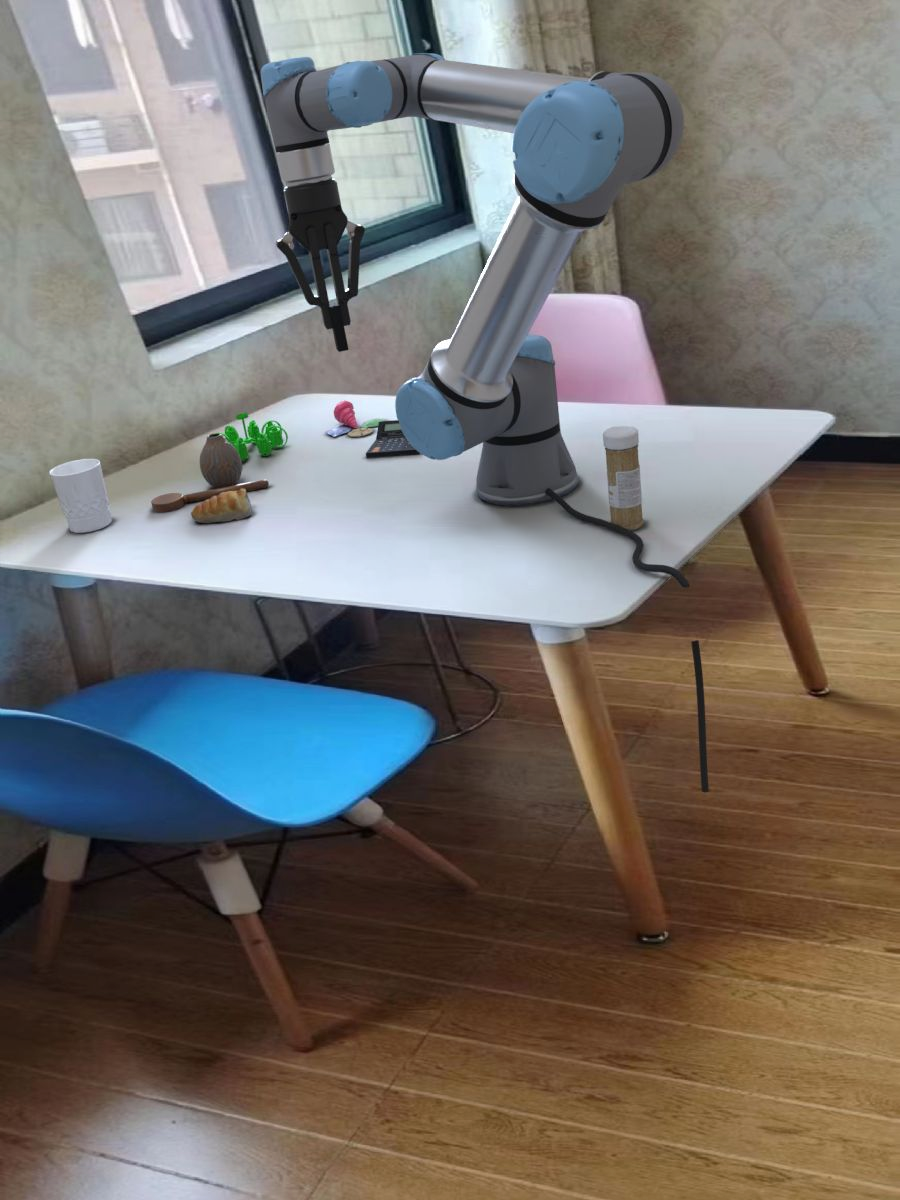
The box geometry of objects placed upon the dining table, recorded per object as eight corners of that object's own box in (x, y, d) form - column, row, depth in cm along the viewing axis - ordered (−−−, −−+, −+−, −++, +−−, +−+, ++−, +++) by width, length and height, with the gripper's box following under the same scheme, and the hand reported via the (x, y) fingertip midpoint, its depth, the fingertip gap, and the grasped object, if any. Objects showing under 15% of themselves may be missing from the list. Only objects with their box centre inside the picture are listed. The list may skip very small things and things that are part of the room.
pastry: (193, 529, 177) (187, 506, 176) (192, 515, 184) (187, 493, 182) (254, 517, 179) (248, 494, 177) (251, 504, 185) (246, 481, 183)
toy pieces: (312, 433, 217) (307, 411, 215) (355, 416, 224) (352, 394, 222) (353, 441, 209) (349, 417, 207) (398, 422, 216) (394, 400, 214)
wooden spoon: (268, 482, 194) (266, 474, 193) (270, 491, 189) (268, 483, 189) (153, 504, 191) (151, 496, 191) (152, 514, 187) (150, 506, 186)
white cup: (125, 516, 188) (109, 458, 184) (96, 535, 181) (79, 475, 177) (86, 516, 191) (69, 458, 186) (56, 534, 184) (38, 475, 180)
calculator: (366, 458, 199) (363, 441, 197) (382, 436, 209) (379, 420, 208) (419, 454, 197) (416, 437, 195) (432, 432, 207) (429, 416, 205)
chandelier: (194, 457, 213) (185, 421, 210) (261, 434, 221) (254, 399, 218) (236, 470, 202) (228, 432, 199) (306, 445, 211) (298, 408, 208)
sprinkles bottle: (608, 521, 157) (600, 427, 152) (642, 517, 157) (635, 422, 151) (612, 534, 153) (604, 437, 148) (646, 530, 153) (639, 433, 147)
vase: (226, 493, 192) (214, 442, 188) (196, 489, 195) (184, 440, 192) (253, 478, 197) (243, 429, 193) (224, 475, 200) (213, 427, 197)
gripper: (351, 172, 164) (381, 336, 174) (261, 188, 162) (296, 354, 172) (358, 173, 157) (389, 344, 167) (265, 190, 155) (301, 362, 165)
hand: (342, 349), depth 169 cm, fingers closed
